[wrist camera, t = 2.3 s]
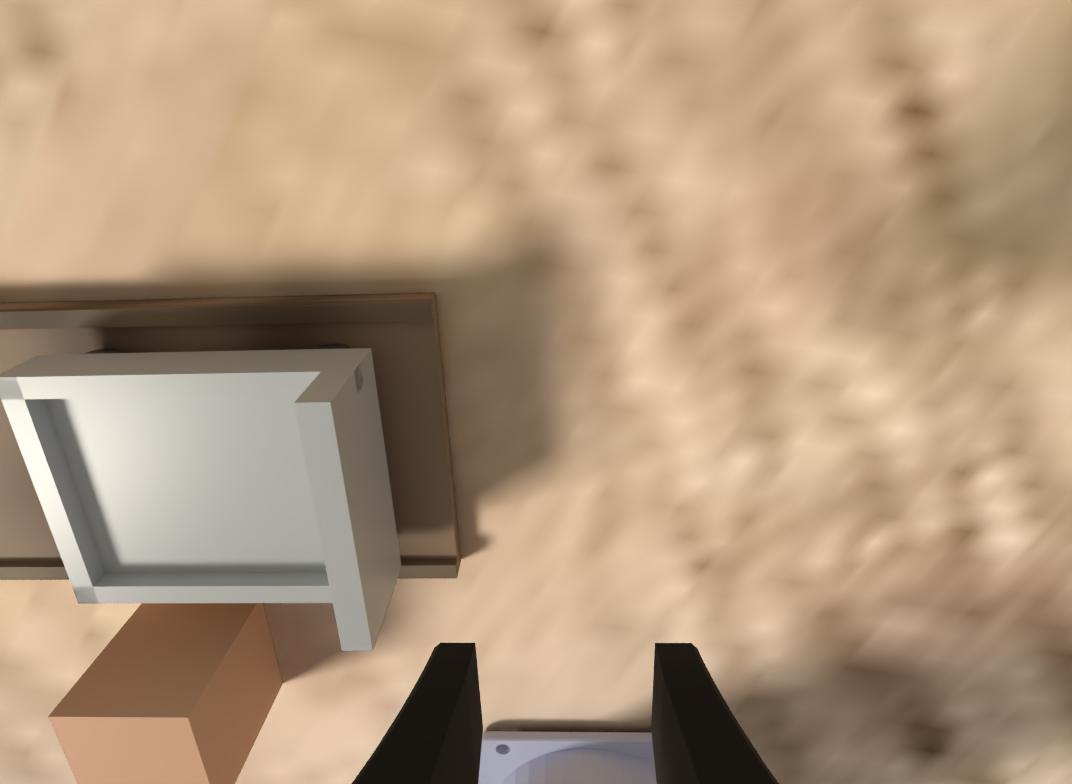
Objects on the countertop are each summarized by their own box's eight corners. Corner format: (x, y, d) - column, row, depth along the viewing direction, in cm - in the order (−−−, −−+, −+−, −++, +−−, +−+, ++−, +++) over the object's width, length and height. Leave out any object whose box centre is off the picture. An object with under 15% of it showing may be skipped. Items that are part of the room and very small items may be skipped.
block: (261, 595, 23) (187, 717, 19) (282, 682, 25) (219, 814, 20) (148, 595, 24) (48, 716, 19) (176, 682, 25) (90, 812, 21)
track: (435, 292, 19) (416, 322, 16) (460, 560, 22) (448, 616, 20) (-283, 309, 20) (-399, 339, 17) (-149, 563, 23) (-229, 616, 21)
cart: (380, 335, 19) (330, 402, 15) (408, 546, 22) (372, 650, 18) (63, 342, 19) (-70, 408, 15) (130, 548, 22) (34, 650, 18)
